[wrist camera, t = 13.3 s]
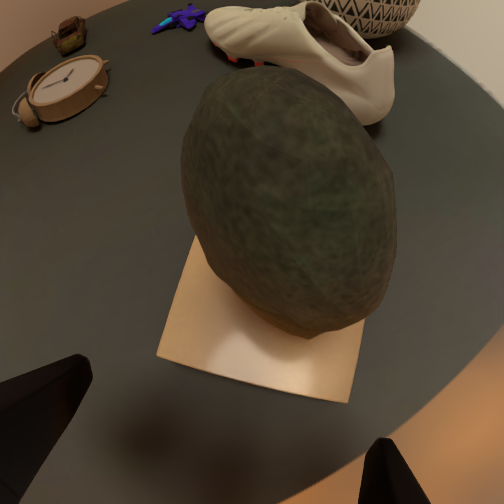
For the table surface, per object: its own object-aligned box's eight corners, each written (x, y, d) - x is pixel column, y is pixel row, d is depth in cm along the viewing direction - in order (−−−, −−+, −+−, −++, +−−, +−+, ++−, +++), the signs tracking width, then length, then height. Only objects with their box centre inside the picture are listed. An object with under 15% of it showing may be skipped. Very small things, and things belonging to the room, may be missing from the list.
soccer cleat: (249, 24, 39) (245, -37, 29) (404, 121, 30) (435, 42, 20) (193, 45, 37) (180, -20, 27) (347, 159, 28) (374, 63, 18)
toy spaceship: (215, 23, 40) (213, 12, 38) (161, 42, 38) (158, 31, 36) (190, 8, 43) (188, -2, 41) (143, 25, 42) (140, 15, 40)
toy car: (58, 41, 45) (50, 24, 40) (88, 26, 46) (81, 8, 41) (55, 63, 40) (44, 44, 36) (89, 45, 41) (80, 25, 37)
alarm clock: (100, 87, 30) (-5, 119, 27) (107, 117, 35) (9, 144, 32) (108, 46, 35) (18, 72, 31) (113, 72, 39) (27, 96, 36)
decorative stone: (359, 315, 19) (518, 166, 5) (282, 377, 18) (331, 368, 4) (266, 205, 22) (259, -8, 8) (192, 254, 21) (91, 58, 7)
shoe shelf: (365, 235, 25) (377, 213, 21) (335, 400, 20) (348, 403, 17) (221, 204, 26) (215, 180, 23) (171, 359, 22) (155, 355, 18)
